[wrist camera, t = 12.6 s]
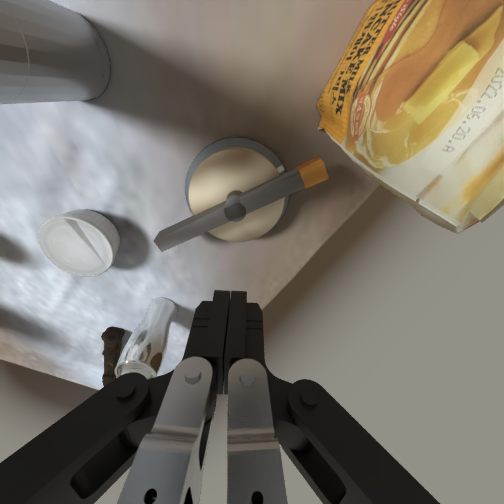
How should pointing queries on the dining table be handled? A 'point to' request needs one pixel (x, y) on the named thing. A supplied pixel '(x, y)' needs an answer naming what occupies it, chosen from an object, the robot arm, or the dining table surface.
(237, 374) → the robot arm
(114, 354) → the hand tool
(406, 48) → the pancake mix bag
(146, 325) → the beer glass
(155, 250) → the dining table surface
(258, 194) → the capstan dial
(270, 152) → the dial plinth
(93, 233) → the ramekin
